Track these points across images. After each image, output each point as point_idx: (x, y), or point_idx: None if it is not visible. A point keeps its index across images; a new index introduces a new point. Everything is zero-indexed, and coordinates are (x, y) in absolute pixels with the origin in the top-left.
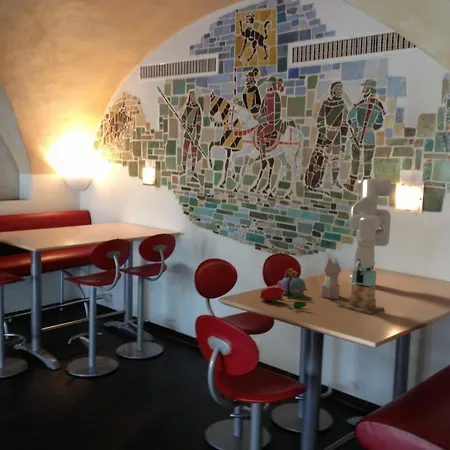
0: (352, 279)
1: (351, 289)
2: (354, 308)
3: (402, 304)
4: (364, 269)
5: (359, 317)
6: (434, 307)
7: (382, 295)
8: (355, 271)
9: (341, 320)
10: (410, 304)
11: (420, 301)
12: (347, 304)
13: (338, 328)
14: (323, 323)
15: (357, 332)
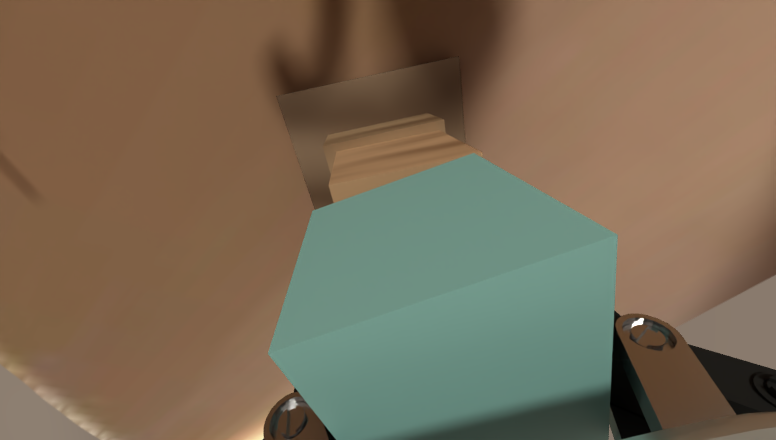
0: (307, 236)
1: (332, 169)
2: (314, 206)
3: (635, 216)
4: (594, 365)
5: (266, 290)
6: (681, 296)
7: (766, 8)
8: (309, 381)
9: (140, 295)
10: (662, 231)
11: (749, 214)
12: (325, 123)
13: (69, 365)
14: (7, 300)
15: (139, 409)
